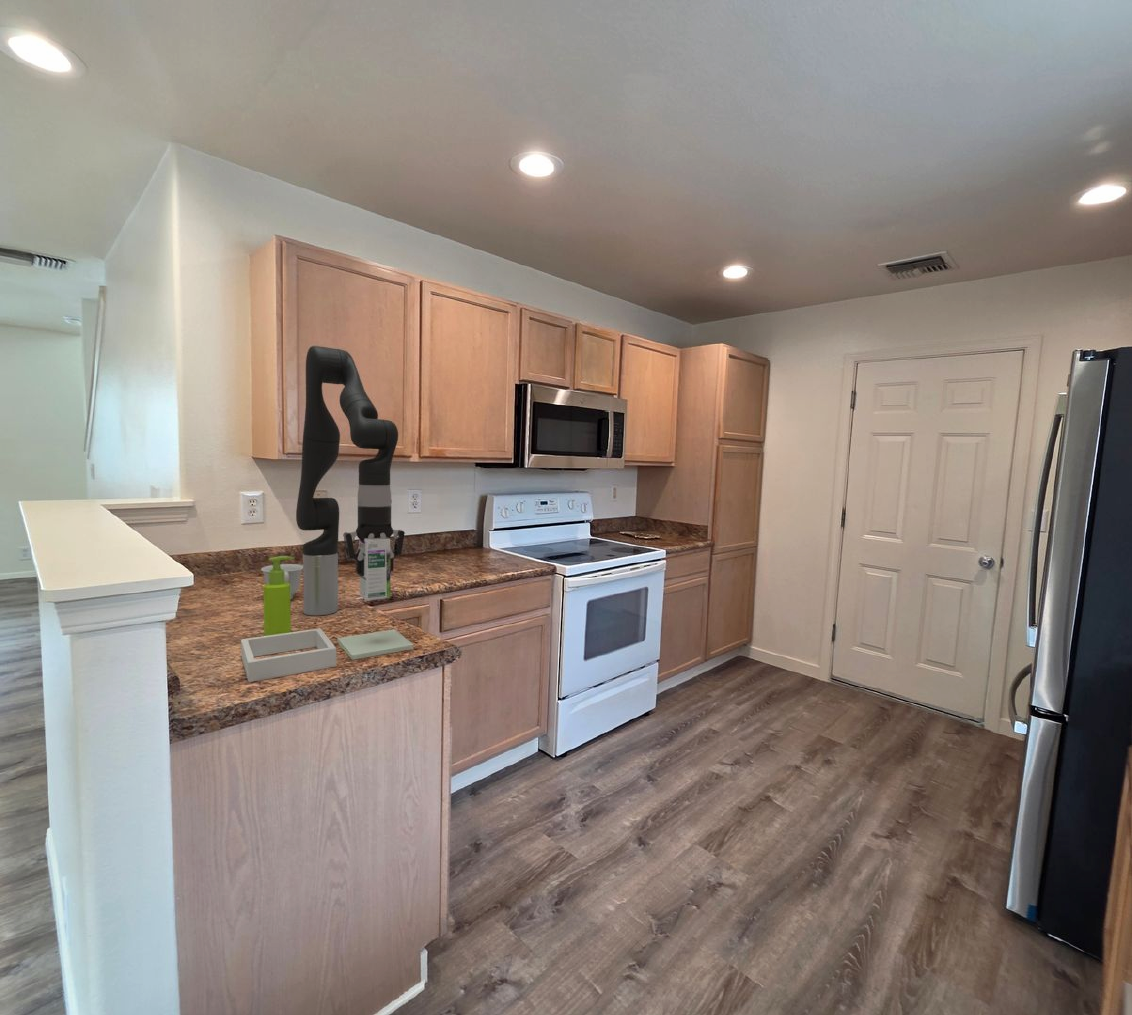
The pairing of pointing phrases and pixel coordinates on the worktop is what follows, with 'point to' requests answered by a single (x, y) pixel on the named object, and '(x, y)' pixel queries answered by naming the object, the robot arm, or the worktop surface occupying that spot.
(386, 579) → the syrup box
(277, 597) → the soap dispenser
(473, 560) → the worktop surface
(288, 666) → the gray square frame
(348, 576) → the worktop surface
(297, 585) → the teacup
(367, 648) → the board
